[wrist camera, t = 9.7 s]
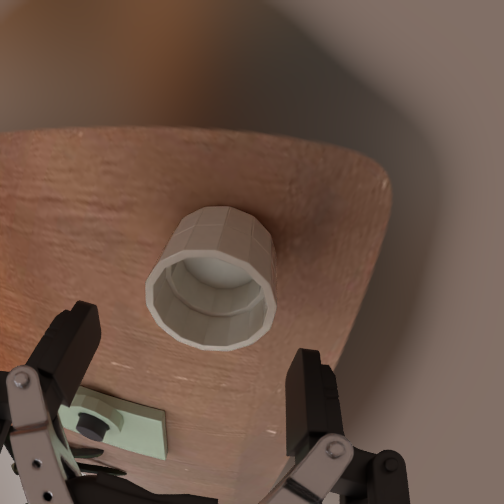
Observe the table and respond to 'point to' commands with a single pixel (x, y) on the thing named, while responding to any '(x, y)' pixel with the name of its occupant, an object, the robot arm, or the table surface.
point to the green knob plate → (120, 422)
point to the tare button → (91, 427)
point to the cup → (215, 280)
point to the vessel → (76, 454)
